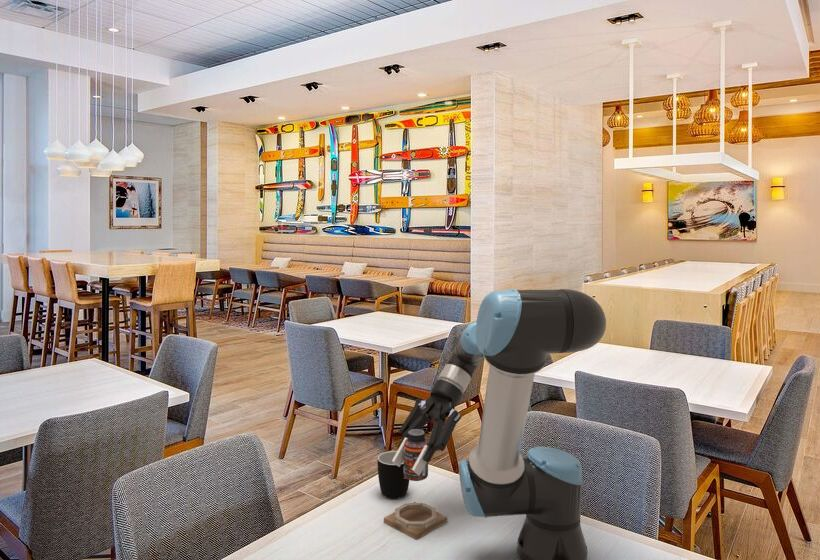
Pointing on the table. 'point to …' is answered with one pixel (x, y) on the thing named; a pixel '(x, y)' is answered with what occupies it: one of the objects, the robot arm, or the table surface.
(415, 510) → the socket board
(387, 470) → the mug
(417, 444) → the supplement bottle
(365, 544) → the table surface
